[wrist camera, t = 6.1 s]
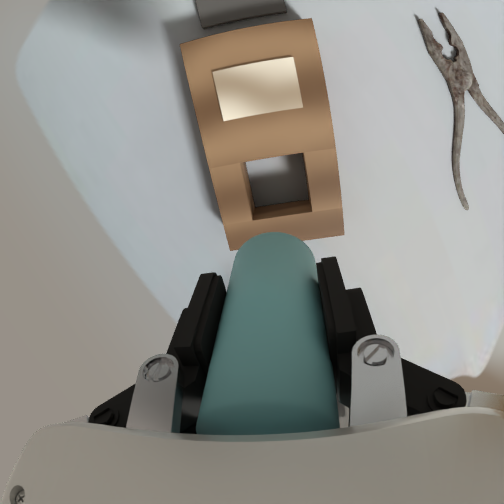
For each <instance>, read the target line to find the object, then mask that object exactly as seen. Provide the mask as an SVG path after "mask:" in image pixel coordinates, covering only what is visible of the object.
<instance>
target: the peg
mask: <svg viewBox="0 0 504 504" xmlns="http://www.w3.org/2000/svg"><path fill="white" fill-rule="evenodd" d="M338 428H340V423H339V414H338V405H337V397H336V389H335V381H334V374H333V367H332V363H331V360H330V356H329V349H328V342H327V335H326V328H325V322H324V315H323V309H322V303H321V297H320V291H319V285H318V277H317V268H316V263H315V258H314V256H313V253H312V252H311V250H310V249H309V247H308V246H307V245H306V244H305V243H304V242H303V241H301V240H300V239H298V238H297V237H295V236H292V235H290V234H286V233H281V232H267V233H263V234H259V235H257V236H254V237H252V238H251V239H249V240H248V241H246V242H245V243H244V244H243V245H242V246H241V247H240V249H239V250H238V252H237V254H236V256H235V260H234V264H233V268H232V272H231V276H230V281H229V285H228V289H227V293H226V297H225V302H224V306H223V310H222V314H221V319H220V323H219V327H218V331H217V336H216V340H215V344H214V349H213V353H212V357H211V362H210V366H209V370H208V375H207V379H206V384H205V388H204V392H203V397H202V401H201V406H200V410H199V415H198V419H197V424H196V432H197V434H202V435H267V434H286V433H300V432H311V431H321V430H330V429H338Z"/></svg>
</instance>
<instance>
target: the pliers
mask: <svg viewBox="0 0 504 504" xmlns="http://www.w3.org/2000/svg"><path fill="white" fill-rule="evenodd" d="M439 16H440V19H441V21H442V24H443V27H444V29H445V30H446V31H447V33H448V35H449V39H448V42H449V45H451V46H453V47H454V48H455V49H456V56H455V57H454V62H452V60H447V59H445V58H444V57H443V55H442V52H441V51H442V49H443V47H442V45H441V44H439V43H438V42H436V41H435V39H434V37H433V35H432V31H431V30H430V29H429V27H428V26H427V25H426V23H425V22H424V21H423V20H422V19H419V20H418V23H419V26H420V28H421V31H422V34H423V37H424V40H425V44H426V47H427V50H428V53H429V55H430V56H431V58H432V59H433V61H434V62H435V64H436V65H437V67H438V69H439V70H440V72H441V73H442V75H443V77H444V78H445V80H446V81H447V83H448V86H449V90H450V93H451V96H452V99H453V104H454V113H455V124H454V139H453V151H452V165H453V175H454V181H455V185H456V189H457V193H458V196H459V199H460V201H461V203H462V205H463V207H464V209H465V210H468V209H469V206H468V203H467V201H466V198H465V196H464V192H463V189H462V184H461V179H460V170H459V159H460V150H461V142H462V134H463V128H464V118H465V109H464V93H465V91H466V90H468V92H469V93H470V95H471V96H472V97H473V99H474V100H475V102H476V103H477V104H478V105H479V107H480V108H481V109H482V110H483V111H484V112H485V114H486V115H487V116H488V117H489V118H490V119H491V120H492V121H493V122H494V123H495V124H496V125H497V126H498V128H499V129H500V130H501V131H502V133H503V134H504V123H503V121H502V120H501V119H500V117H499V116H498V115H497V114H496V112H495V111H494V110H493V109H492V107H491V106H490V105H489V103H488V102H487V101H486V99H485V98H484V96H483V95H482V93H481V91H480V89H479V84H478V82H477V80H476V78H475V76H474V74H473V70H472V67H471V63H470V60H469V58H468V55H467V52H466V50H465V47H464V45H463V42H462V40H461V39H460V37H459V36H458V34H457V32H456V31H455V29H454V28H453V26H452V25H451V23H450V22H449V20H448V19H447V18H446V16H445V15H444V13H439Z"/></svg>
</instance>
